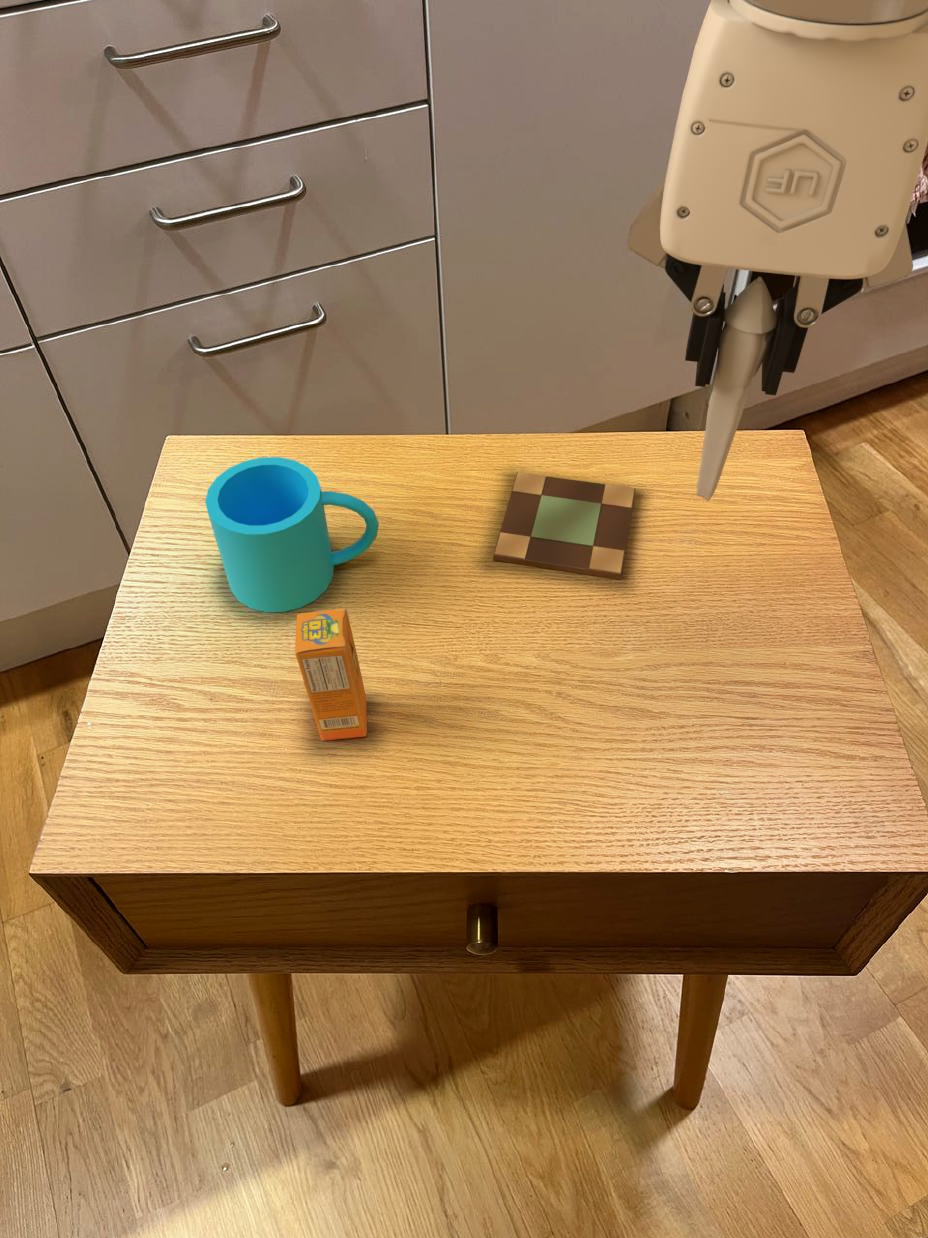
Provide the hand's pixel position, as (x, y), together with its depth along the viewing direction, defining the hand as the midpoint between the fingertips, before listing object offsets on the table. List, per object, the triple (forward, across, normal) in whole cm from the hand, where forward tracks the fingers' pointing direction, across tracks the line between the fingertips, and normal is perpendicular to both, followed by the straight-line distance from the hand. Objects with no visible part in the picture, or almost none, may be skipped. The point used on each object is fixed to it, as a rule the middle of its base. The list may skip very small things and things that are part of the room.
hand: (736, 372), depth 50 cm
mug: (+25, -28, +4) cm, 38 cm away
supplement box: (+25, -21, -10) cm, 34 cm away
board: (+24, -9, +12) cm, 29 cm away
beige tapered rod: (+9, 0, 0) cm, 9 cm away
